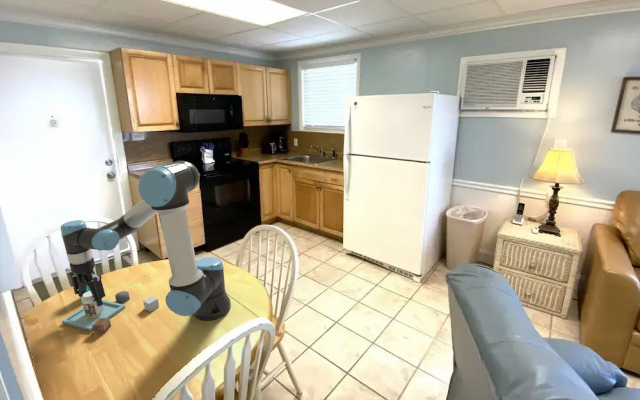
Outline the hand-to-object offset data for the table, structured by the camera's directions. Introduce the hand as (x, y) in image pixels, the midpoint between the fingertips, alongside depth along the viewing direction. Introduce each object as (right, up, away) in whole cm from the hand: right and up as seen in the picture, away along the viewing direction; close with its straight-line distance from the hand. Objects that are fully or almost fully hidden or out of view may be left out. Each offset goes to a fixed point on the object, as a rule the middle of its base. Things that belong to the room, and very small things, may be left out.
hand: (93, 310), depth 126 cm
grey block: (+20, -1, +6) cm, 21 cm away
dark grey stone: (+5, +1, +11) cm, 12 cm away
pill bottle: (0, -2, +1) cm, 2 cm away
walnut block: (+8, -5, -7) cm, 12 cm away
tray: (0, -2, +1) cm, 2 cm away
